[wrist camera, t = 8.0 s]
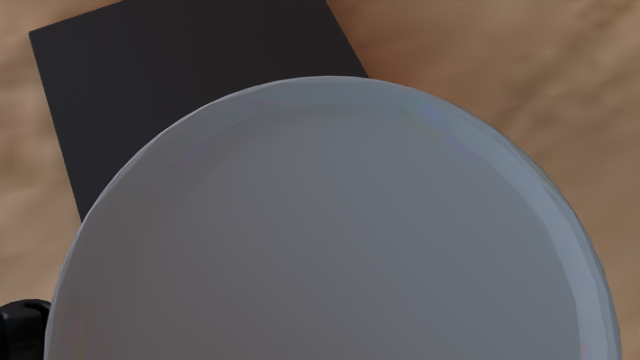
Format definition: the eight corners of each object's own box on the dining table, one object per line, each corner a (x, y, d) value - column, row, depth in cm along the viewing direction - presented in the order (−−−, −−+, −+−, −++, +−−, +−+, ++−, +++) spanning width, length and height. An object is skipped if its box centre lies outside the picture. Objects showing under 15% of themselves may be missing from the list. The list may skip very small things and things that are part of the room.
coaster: (32, 38, 26) (27, 31, 25) (293, -49, 28) (293, -57, 27) (106, 297, 21) (101, 294, 20) (416, 168, 23) (418, 163, 22)
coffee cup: (449, 246, 21) (580, 56, 10) (477, 534, 18) (731, 712, 7) (204, 248, 21) (77, 60, 10) (180, 534, 18) (-56, 712, 7)
